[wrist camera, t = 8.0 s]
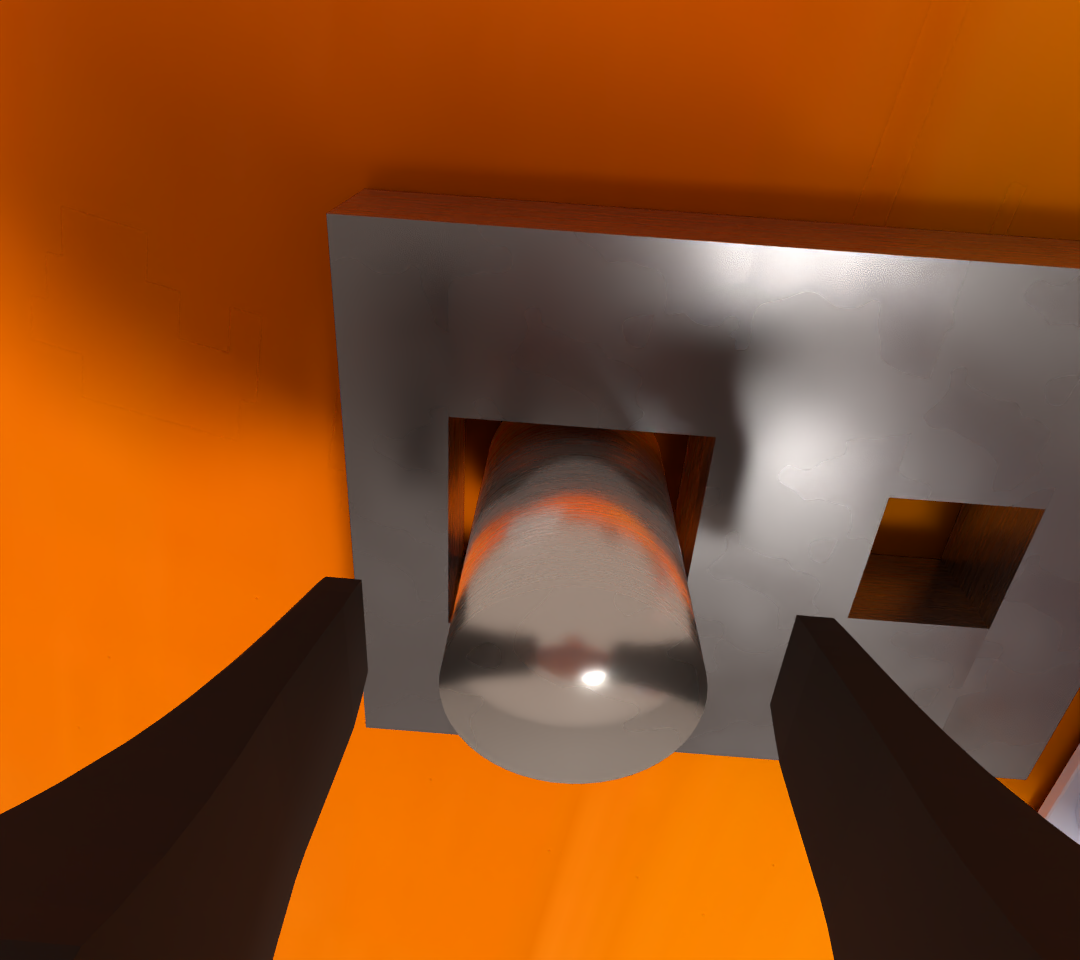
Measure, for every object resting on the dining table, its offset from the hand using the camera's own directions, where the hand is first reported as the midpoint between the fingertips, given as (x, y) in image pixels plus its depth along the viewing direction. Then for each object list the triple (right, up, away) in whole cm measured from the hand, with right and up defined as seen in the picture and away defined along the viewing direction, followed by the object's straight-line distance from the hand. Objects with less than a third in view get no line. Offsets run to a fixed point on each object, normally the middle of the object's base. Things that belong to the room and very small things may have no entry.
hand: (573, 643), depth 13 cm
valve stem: (0, +3, +5) cm, 6 cm away
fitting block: (+4, +3, +5) cm, 7 cm away
